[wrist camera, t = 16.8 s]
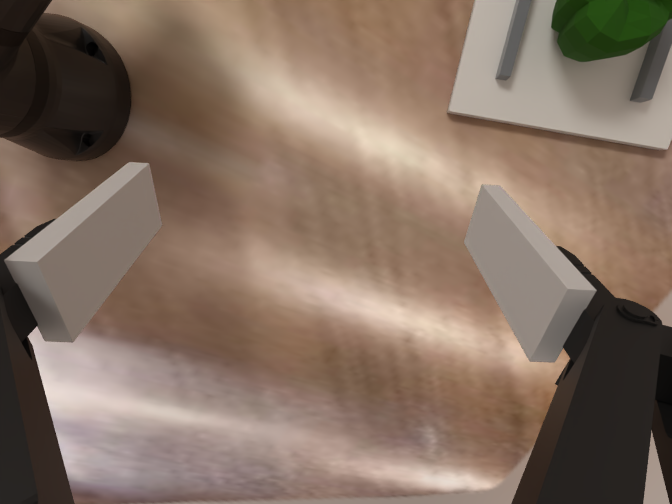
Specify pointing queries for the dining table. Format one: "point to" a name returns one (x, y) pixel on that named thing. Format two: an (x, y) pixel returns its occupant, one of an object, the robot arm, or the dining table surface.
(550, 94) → the board
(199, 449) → the dining table surface
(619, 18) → the bell pepper
